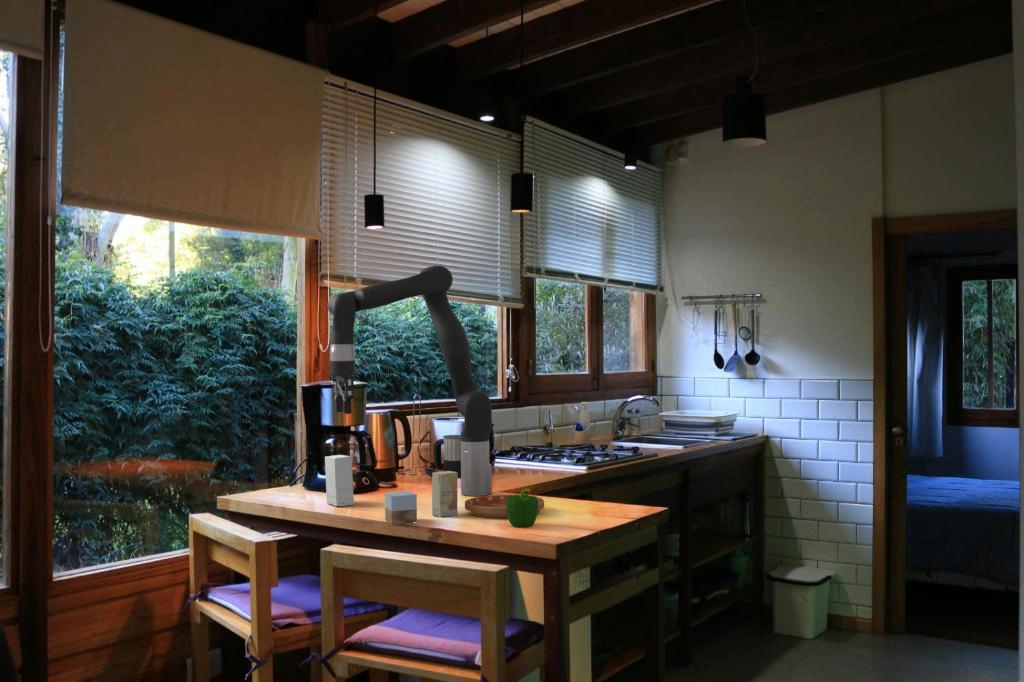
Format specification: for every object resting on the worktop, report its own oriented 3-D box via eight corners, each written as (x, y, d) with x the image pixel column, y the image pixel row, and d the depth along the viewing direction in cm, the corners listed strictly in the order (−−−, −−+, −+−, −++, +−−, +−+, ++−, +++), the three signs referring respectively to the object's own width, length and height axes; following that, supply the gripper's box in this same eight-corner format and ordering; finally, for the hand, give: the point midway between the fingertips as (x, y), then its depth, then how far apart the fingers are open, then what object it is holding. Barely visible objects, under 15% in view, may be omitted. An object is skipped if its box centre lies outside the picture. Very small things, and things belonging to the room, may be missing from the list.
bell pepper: (500, 525, 245) (499, 487, 245) (525, 521, 249) (524, 484, 249) (518, 530, 238) (518, 491, 238) (543, 526, 243) (543, 488, 243)
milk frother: (471, 474, 338) (471, 434, 338) (459, 481, 323) (458, 439, 323) (434, 474, 341) (434, 434, 342) (421, 480, 326) (420, 438, 326)
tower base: (409, 519, 255) (409, 505, 255) (416, 523, 249) (416, 509, 249) (385, 521, 253) (385, 506, 253) (391, 526, 246) (391, 511, 246)
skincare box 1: (354, 505, 277) (353, 456, 277) (335, 507, 273) (335, 457, 273) (343, 501, 284) (342, 453, 284) (324, 503, 280) (324, 455, 280)
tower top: (409, 505, 255) (409, 490, 255) (416, 509, 249) (416, 494, 249) (385, 507, 252) (385, 492, 252) (391, 511, 246) (391, 496, 246)
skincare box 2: (440, 517, 256) (440, 474, 256) (431, 515, 259) (430, 472, 259) (458, 514, 260) (458, 471, 260) (449, 512, 263) (449, 470, 263)
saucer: (449, 511, 266) (449, 499, 266) (513, 503, 279) (513, 491, 279) (494, 524, 247) (494, 510, 247) (560, 514, 261) (560, 501, 261)
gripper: (361, 359, 272) (362, 413, 272) (347, 358, 285) (348, 410, 285) (337, 360, 269) (338, 415, 269) (324, 359, 281) (325, 412, 281)
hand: (343, 412), depth 277 cm, fingers open, 8 cm apart
